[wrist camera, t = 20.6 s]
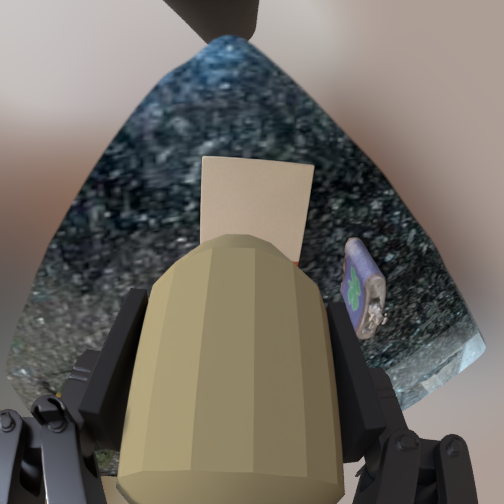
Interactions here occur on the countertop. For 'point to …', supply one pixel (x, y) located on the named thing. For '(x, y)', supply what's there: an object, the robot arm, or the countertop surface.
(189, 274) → the squeeze bottle
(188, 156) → the countertop surface
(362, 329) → the flask
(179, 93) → the countertop surface
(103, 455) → the mug
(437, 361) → the countertop surface
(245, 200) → the board
